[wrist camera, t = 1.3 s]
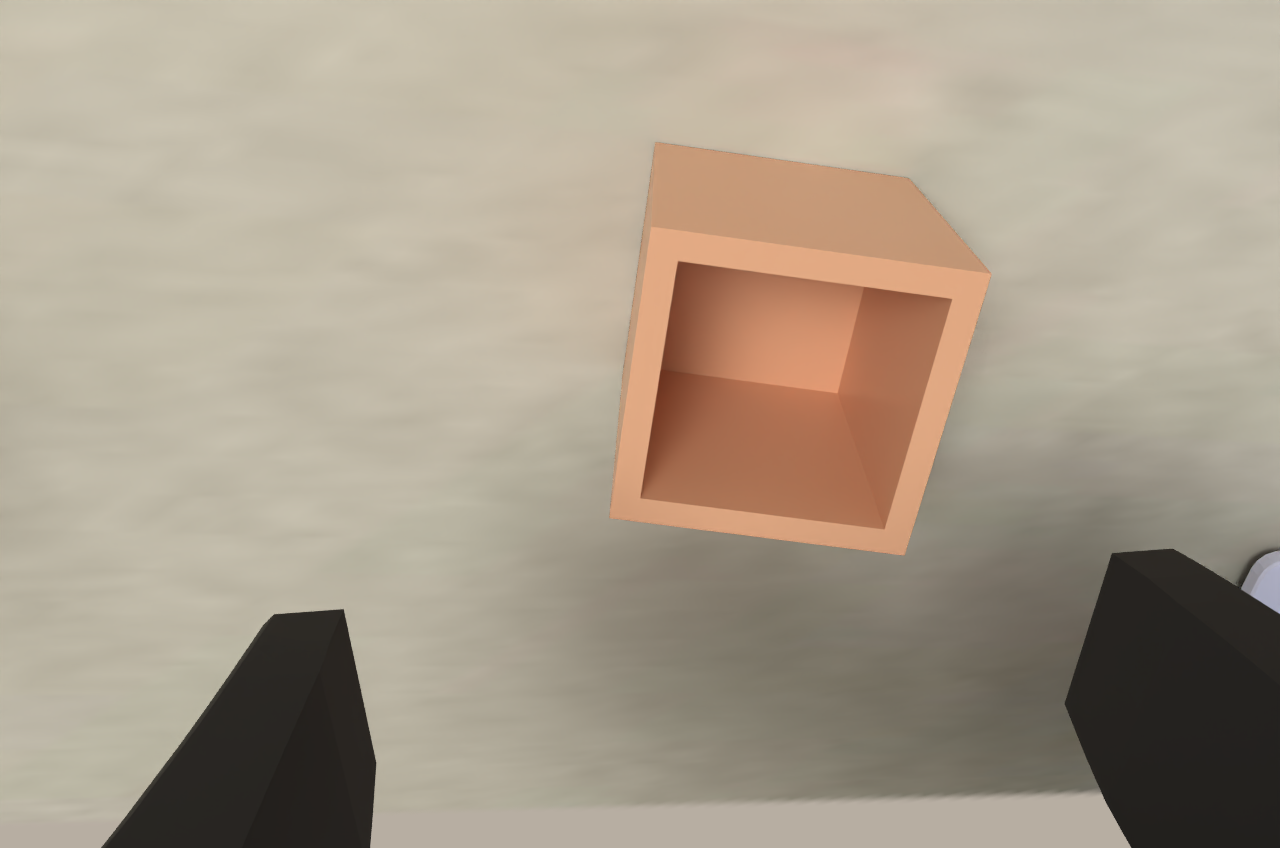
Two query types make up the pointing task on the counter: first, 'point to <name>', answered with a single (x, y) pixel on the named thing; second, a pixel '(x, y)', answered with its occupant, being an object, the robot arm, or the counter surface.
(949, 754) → the counter surface
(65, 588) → the counter surface
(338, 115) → the counter surface
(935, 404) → the box
